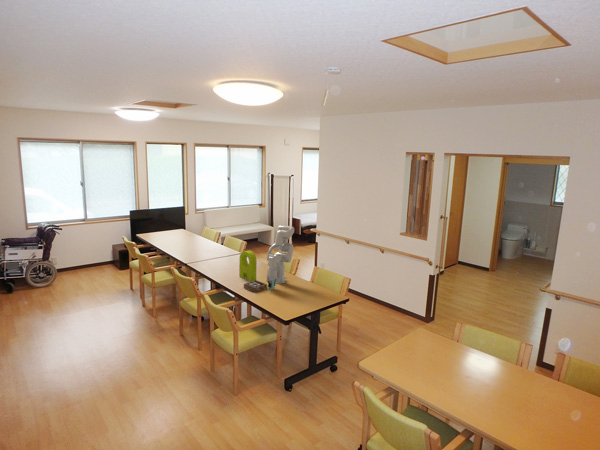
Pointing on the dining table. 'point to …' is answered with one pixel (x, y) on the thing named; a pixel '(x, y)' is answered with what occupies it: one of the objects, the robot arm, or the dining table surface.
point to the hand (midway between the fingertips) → (271, 286)
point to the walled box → (255, 286)
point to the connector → (272, 284)
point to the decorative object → (248, 265)
